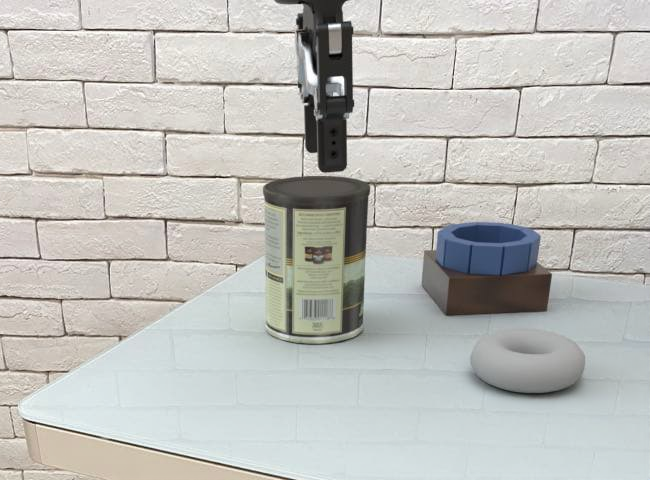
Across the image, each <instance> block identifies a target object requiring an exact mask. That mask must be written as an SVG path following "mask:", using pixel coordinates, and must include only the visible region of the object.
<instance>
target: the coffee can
mask: <svg viewBox="0 0 650 480" xmlns="http://www.w3.org/2000/svg"><path fill="white" fill-rule="evenodd" d="M262 194H263V197H264V199H263V200H264V201H263V202H264V252H265V253H264V258H265V260H264V263H265V264H264V269H265V270H264V271H265V277H264V278H265V283H264V284H265V287H264V289H265V325H264V328H265V331H266V332H267V333H268V334H269V335H271V336H272V337H274V338H276V339H280V340H282V341H286V342H291V343H295V344H307V345H308V344H309V345H310V344H311V345H317V344H318V345H321V344H331V343H332V344H333V343H339V342H343V341H346V340H349V339H352V338H354V337H356V336H357V337H358V335H360V334H361V333H362V332H363V330H364V307H365V306H364V304H365V279H366V277H365V276H366V258H367V257H366V253H367V238H368V237H367V235H368V234H367V233H368V232H367V231H368V215H369V214H368V211H369V196H370V194H371V185H370V184H369V183H368V182H366V181H364V180H361V179H357V178H353V177H345V176H335V175H303V176H292V177H285V178H279V179H276V180H272V181H269V182H268V183H266V184H264V185H263V186H262Z"/></svg>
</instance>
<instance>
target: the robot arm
mask: <svg viewBox="0 0 650 480" xmlns="http://www.w3.org/2000/svg"><path fill="white" fill-rule="evenodd" d="M273 1H274V3H276V4H279V5H286V6H287V5H290V6H291V5H293V6H294V5H302V7H303V8H302V12H300V13H297V15H296V18H295V25H296V26H297V29H295V30H294V47H295V54H296V75H297V76H296V77H297V89H298V91H299V98H300V100H301V104H304V105H303V120H304V147H305V150H306V152H307V153H309V154H317V168H318V170H319V171H320V172H321V173H324V174H326V173H327V174H329V173H339V172H343V171H345V170H346V169H347V166H348V123H347V122H348V119H349V118H350V114H352V113H353V111H354V108H355V99H354V78H353V77H354V76H353V73H354V72H353V69H354V68H353V66H354V65H353V64H354V63H353V35H354V26H353V24H352V21H351V20H345V21H344V12H343V5H344V4H345V3H346V2H348V1H349V0H273ZM334 93H335V94H338V95H334Z"/></svg>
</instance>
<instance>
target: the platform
mask: <svg viewBox="0 0 650 480" xmlns="http://www.w3.org/2000/svg"><path fill="white" fill-rule="evenodd" d="M422 263H423V264H422V274H421V286H422V287H423V289H424V290H425V291H426V293H427V294H428V295H429V296H430V298H431V299H432V300H433V301H434V303H435V304H436V305H437V306H438V307H439V309H440V310H441V311H442V312H443V314H444V315H445V316H460V315H481V314H482V315H483V314H505V313H506V314H507V313H524V312H525V313H528V312H547V310H548V304H549V298H550V291H551V285H552V277H553V273H552V272H551V271H549V270H548V269H547V268H546V267H544V266H543V265H542V264H540V263H539V261H537V264H536V265H535V266H534V267H533V268H531V269H530V270H529V271H526V272H521V273H514V274H508V275H478V274H470V273H468V274H466V273H462V272H458V271H454V270H451V269H447V268H444V267H442V266H441V265H440V264H439V263H438V261H437V260H436V249H431V250H429V249H428V250H424V251H423V260H422Z"/></svg>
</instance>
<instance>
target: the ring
mask: <svg viewBox="0 0 650 480" xmlns="http://www.w3.org/2000/svg"><path fill="white" fill-rule="evenodd" d="M436 238H437V239H436V249H435V250H436V260H437V261H438V263H439V264H440V265H441V266H442V267H444V268H447V269H451V270H454V271H458V272H462V273H466V274H468V273H470V274H478V275H508V274H514V273H521V272H526V271H529V270H530V269H531V268H533V267H534V266H535V265H536V264H537V262H538V258H539V251H540V245H541V238H542V237H541V234H540V233H538V232H537V231H535V230H534V229H533V228H530V227H527V226H522V225H517V224H513V223H507V222H506V223H504V222H492V221H491V222H489V221H475V222H474V221H471V222H470V221H469V222H461V223H454V224H450V225H449V224H448V225H447V226H445V227H443V228H441V229H440V230H438V231H437V237H436Z"/></svg>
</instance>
